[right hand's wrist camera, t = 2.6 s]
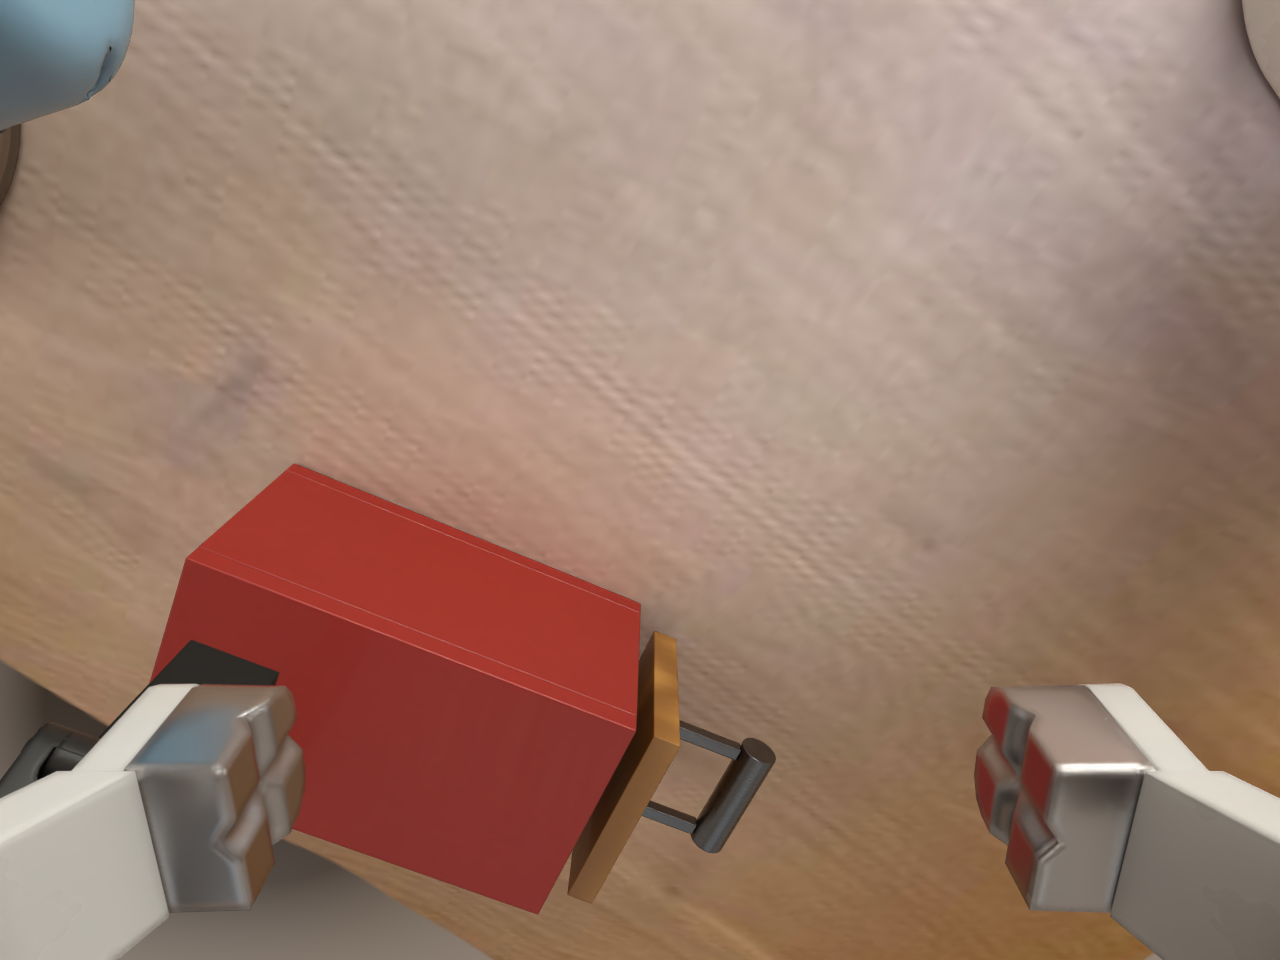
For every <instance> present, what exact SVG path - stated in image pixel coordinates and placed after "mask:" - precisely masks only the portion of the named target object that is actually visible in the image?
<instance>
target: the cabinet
mask: <svg viewBox="0 0 1280 960" xmlns="http://www.w3.org/2000/svg"><path fill="white" fill-rule="evenodd" d="M640 609H641V604H640V603H637V602H635V601H633V600H630V599H628V598H625V597H623V596H620V595H618V594H615V593H613V592H610V591H608V590H605V589H603V588H600V587H598V586H595V585H593V584H591V583H588V582H586V581H583V580H581V579H578V578H576V577H573V576H571V575H568V574H566V573H563V572H561V571H558V570H556V569H554V568H551V567H549V566H546V565H544V564H541V563H539V562H536V561H534V560H531V559H529V558H526V557H524V556H521V555H519V554H516V553H514V552H512V551H509V550H507V549H504V548H502V547H499V546H497V545H494V544H492V543H489V542H487V541H484V540H482V539H479V538H477V537H475V536H472V535H470V534H467V533H465V532H462V531H460V530H457V529H455V528H452V527H450V526H447V525H445V524H442V523H440V522H438V521H435V520H433V519H430V518H428V517H425V516H423V515H420V514H418V513H415V512H413V511H410V510H408V509H405V508H403V507H400V506H398V505H396V504H393V503H391V502H388V501H386V500H383V499H381V498H378V497H376V496H373V495H371V494H368V493H366V492H363V491H361V490H359V489H356V488H354V487H351V486H349V485H346V484H344V483H341V482H339V481H336V480H334V479H331V478H329V477H326V476H324V475H321V474H319V473H317V472H314V471H312V470H309V469H307V468H304V467H302V466H299V465H297V464H293V465H292V466H290V467H289V468H288V469H287V470H286V471H285V472H283V473H282V474H281V475H280V476H279V477H278V478H277V479H275V480H274V481H273V482H272V483H271V484H270V485H269V486H267V487H266V488H265V489H264V490H263V491H262V492H261V493H260V494H258V495H257V496H256V497H255V498H254V499H253V500H252V501H250V502H249V503H248V504H247V505H246V506H245V507H244V508H242V509H241V510H240V511H239V512H238V513H237V514H236V515H234V516H233V517H232V518H231V519H230V520H229V521H228V522H226V523H225V524H224V525H223V526H222V527H221V528H220V529H218V530H217V531H216V532H215V533H214V534H213V535H212V536H210V537H209V538H208V539H207V540H206V541H205V542H204V543H203V544H201V545H200V546H199V548H197V549H196V550H195V551H194V552H193V553H191V554H190V555H189V556H188V557H187V558H186V560H185V563H184V567H183V570H182V574H181V577H180V581H179V584H178V587H177V591H176V594H175V598H174V601H173V605H172V608H171V611H170V615H169V618H168V622H167V625H166V629H165V632H164V635H163V639H162V642H161V646H160V649H159V653H158V656H157V659H156V663H155V666H154V670H153V673H152V677H151V680H150V682H151V681H152V680H153V679H154V678H155V677H156V676H157V675H158V674H159V673H160V672H161V671H162V670H163V669H164V668H165V667H166V665H167V664H168V663H169V662H170V661H171V660H172V659H173V658H174V657H175V656H176V655H177V654H178V653H179V652H180V651H181V650H182V649H183V648H184V646H185V645H186V644H187V643H188V642H189V641H190V640H194V641H197V642H199V643H202V644H205V645H207V646H210V647H213V648H216V649H218V650H221V651H224V652H226V653H229V654H232V655H234V656H237V657H240V658H242V659H245V660H248V661H250V662H253V663H256V664H259V665H261V666H264V667H267V668H269V669H272V670H275V671H277V672H280V673H279V676H278V679H277V682H276V685H275V686H286V687H287V688H288V689H289V690H290V691H291V692H292V693H293V696H294V701H295V706H296V711H297V716H298V718H297V720H296V721H295V723H294V725H293V727H292V728H291V730H290V732H289V733H288V735H289V736H290V737H291V738H292V739H293V740H294V741H295V742H296V743H297V744H298V745H299V746H300V747H301V748H302V750H303V754H304V761H305V791H304V796H303V800H302V805H301V809H300V814H299V816H298V818H297V820H296V822H295V824H294V826H293V828H292V829H295V830H298V831H300V832H303V833H306V834H309V835H312V836H315V837H318V838H320V839H323V840H326V841H329V842H332V843H335V844H338V845H340V846H343V847H346V848H349V849H352V850H355V851H358V852H360V853H363V854H366V855H369V856H372V857H375V858H378V859H380V860H383V861H386V862H389V863H392V864H395V865H398V866H400V867H403V868H406V869H409V870H412V871H415V872H418V873H420V874H423V875H426V876H429V877H432V878H435V879H438V880H440V881H443V882H446V883H449V884H452V885H455V886H458V887H460V888H463V889H466V890H469V891H472V892H475V893H478V894H480V895H483V896H486V897H489V898H492V899H495V900H498V901H500V902H503V903H506V904H509V905H512V906H515V907H518V908H520V909H523V910H526V911H529V912H532V913H535V914H538V913H539V912H540V910H541V908H542V906H543V904H544V902H545V900H546V899H547V897H548V895H549V893H550V891H551V889H552V887H553V886H554V884H555V882H556V880H557V878H558V876H559V874H560V872H561V871H562V869H563V867H564V865H565V863H566V861H567V859H568V858H569V856H570V854H571V852H572V850H573V848H574V846H575V844H576V843H577V841H578V839H579V837H580V835H581V833H582V831H583V830H584V828H585V826H586V824H587V822H588V820H589V818H590V817H591V815H592V813H593V811H594V809H595V807H596V805H597V803H598V802H599V800H600V798H601V796H602V794H603V792H604V790H605V789H606V787H607V785H608V783H609V781H610V779H611V777H612V776H613V774H614V772H615V770H616V768H617V766H618V764H619V762H620V761H621V759H622V757H623V755H624V753H625V751H626V749H627V748H628V746H629V744H630V742H631V740H632V738H633V736H634V734H635V733H636V720H637V718H636V717H637V696H638V668H639V640H640Z"/></svg>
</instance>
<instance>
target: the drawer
mask: <svg viewBox="0 0 1280 960" xmlns="http://www.w3.org/2000/svg"><path fill="white" fill-rule="evenodd" d="M636 718H637V720H636V733H635V734H634V736H633V738H632V740H631V742H630V744H629V746H628V748H627V749H626V751H625V753H624V755H623V757H622V759H621V761H620V762H619V764H618V766H617V768H616V770H615V772H614V774H613V776H612V777H611V779H610V781H609V783H608V785H607V787H606V789H605V790H604V792H603V794H602V796H601V798H600V800H599V802H598V803H597V805H596V807H595V809H594V811H593V813H592V815H591V817H590V818H589V820H588V822H587V824H586V826H585V828H584V830H583V831H582V833H581V835H580V837H579V839H578V841H577V843H576V844H575V846H574V848H573V852H572V860H571V869H570V877H569V885H568V895H569V896H572V897H575V898H578V899H580V900H583V901H586V902H589V903H593V901H594V899H595V897H596V895H597V894H598V892H599V890H600V888H601V887H602V885H603V883H604V881H605V879H606V878H607V876H608V874H609V872H610V871H611V869H612V867H613V865H614V863H615V862H616V860H617V858H618V856H619V855H620V853H621V851H622V849H623V847H624V846H625V844H626V842H627V840H628V839H629V837H630V835H631V833H632V831H633V830H634V828H635V826H636V824H637V823H638V821H639V819H640V817H641V816H644V817H647V818H649V819H652V820H655V821H657V822H660V823H663V824H665V825H668V826H671V827H674V828H676V829H679V830H682V831H684V832H687V833H690V834H691V837H692V840H693V841H694V843H695V844H696V845H697V846H698V847H699V848H701V849H702V850H704V851H706V852H709V853H717V852H719V851H721V849H722V848H723V846H724V844H725V843H726V841H727V839H728V838H729V836H730V835H731V833H732V831H733V830H734V828H735V826H736V825H737V823H738V821H739V820H740V818H741V817H742V815H743V813H744V812H745V810H746V808H747V807H748V805H749V804H750V802H751V800H752V799H753V797H754V795H755V794H756V792H757V790H758V789H759V787H760V786H761V784H762V782H763V781H764V779H765V777H766V776H767V774H768V773H769V771H770V769H771V768H772V766H773V764H774V763H775V760H776V758H775V754H774V752H773V751H772V750H771V748H770V747H768V746H767V745H766V744H765V743H763V742H762V741H760V740H757V739H754V738H747V739H745V740H744V741H743V742H742V744H741V746H740V744H739V743H737V742H734V741H732V740H729V739H727V738H724V737H721V736H719V735H716V734H714V733H711V732H709V731H706V730H703V729H701V728H698V727H696V726H693V725H691V724H688V723H685V722H683V721H680V720H679V700H678V674H677V649H676V639H674V638H671V637H669V636H666V635H664V634H661V633H659V632H656V631H654V633H653V635H652V637H651V639H650V641H649V642H648V644H647V646H646V648H645V650H644V652H643V654H642V656H641V658H640V660H639V668H638V696H637V717H636ZM680 739H682V740H684V741H687V742H690V743H692V744H695V745H697V746H700V747H703V748H705V749H708V750H710V751H713V752H716V753H718V754H721V755H723V756H726V757H728V758H731V759H732V761H731V763H730V764H729V766H728V768H727V769H726V771H725V773H724V774H723V776H722V778H721V779H720V781H719V783H718V784H717V786H716V788H715V790H714V791H713V793H712V795H711V796H710V798H709V800H708V801H707V803H706V805H705V806H704V808H703V810H702V812H701V813H700V815H699V817H698V818H697V820H696V818H695V817H693V816H690V815H687V814H685V813H682V812H679V811H677V810H674V809H671V808H669V807H666V806H663V805H661V804H658V803H655V802H653V801H650V799H651V798H652V796H653V794H654V792H655V790H656V789H657V787H658V785H659V783H660V782H661V780H662V778H663V776H664V774H665V773H666V771H667V769H668V767H669V766H670V764H671V762H672V760H673V758H674V757H675V755H676V753H677V751H678V750H679V748H680Z"/></svg>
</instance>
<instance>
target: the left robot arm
mask: <svg viewBox="0 0 1280 960" xmlns="http://www.w3.org/2000/svg"><path fill="white" fill-rule="evenodd" d="M133 20H134V0H0V204H1V202H2V200H3V198H4V196H5V194H6V193H7V190H8V187H9V185H10V182H11V180H12V177H13V174H14V170H15V166H16V162H17V157H18V151H19V144H20V129H21V123H23V122H26V121H29V120H32V119H35V118H39V117H42V116H45V115H48V114H51V113H54V112H57V111H60V110H63V109H66V108H69V107H72V106H75V105H78V104H80V103H82V102H84V101H86V100H88V99H90V98H91V97H92V96H93V95H94V94H96V93H97V92H99V91H101V90H102V89H103V88H104V87H105V86H106V85H107V84H108V83H109V82H110V81H111V80H112V78H113V77H114V76H115V74H116V73H117V71H118V69H119V68H120V66H121V64H122V62H123V60H124V57H125V55H126V52H127V49H128V45H129V41H130V38H131V33H132V27H133ZM279 673H280V672H277V671H275V670H272V669H269V668H267V667H264V666H261V665H259V664H256V663H253V662H250V661H248V660H245V659H242V658H240V657H237V656H234V655H232V654H229V653H226V652H224V651H221V650H218V649H216V648H213V647H210V646H207V645H205V644H202V643H199V642H197V641H194V640H190V641H189V642H188V643H187V644H186V645H185V646H184V648H183V649H182V650H181V651H180V652H179V653H178V654H177V655H176V656H175V657H174V658H173V659H172V660H171V661H170V662H169V663H168V664H167V665H166V667H165V668H164V669H163V670H162V671H161V672H160V673H159V674H158V675H157V676H156V677H155V678H154V679H153V680H152V681H151V682H150V683H149V685H148V686H147V687H146V688H145V689H144V690H143V691H142V692H141V693H140V694H139V695H138V696H137V697H136V698H135V699H134V700H133V701H132V702H131V704H130V705H129V706H128V707H127V708H126V709H125V710H124V711H123V712H122V713H121V714H120V715H119V716H118V717H117V718H116V719H115V720H114V722H113V723H112V724H111V725H110V726H109V727H108V728H107V729H106V730H105V731H104V732H103V733H102V734H101V735H100V736H99V737H98V738H96V737H94V736H91V735H88V734H85V733H82V732H79V731H77V730H74V729H71V728H68V727H65V726H62V725H59V724H57V723H54V722H50V723H47V724H45V725H44V726H43V727H41V728H40V729H39V730H38V732H37V733H36V734H35V735H34V736H33V737H32V738H31V739H30V740H29V741H28V742H27V743H26V744H25V746H24V747H23V749H22V751H21V753H20V755H19V756H18V758H17V759H16V760H15V762H14V763H13V764H12V765H11V767H10V768H9V769H8V771H7V772H6V773H5V775H4V776H3V777H2V779H1V780H0V798H2V797H4V796H6V795H8V794H10V793H12V792H15V791H17V790H19V789H21V788H23V787H25V786H27V785H29V784H31V783H33V782H35V781H37V780H39V779H41V778H44V777H46V776H48V775H50V774H52V773H54V772H56V771H72V770H73V768H74V767H75V766H76V765H77V764H78V763H79V762H80V761H81V760H82V759H83V758H84V757H85V755H86V754H87V753H88V752H89V751H90V750H91V749H92V748H93V747H94V746H95V745H96V744H97V742H98V741H99V740H100V739H101V738H102V737H103V736H104V735H105V734H106V733H107V732H108V731H109V730H110V728H111V727H112V726H113V725H114V724H115V723H116V722H117V721H118V720H119V719H120V718H121V717H122V715H123V714H124V713H125V712H126V711H127V710H128V709H129V708H130V707H131V706H132V705H133V704H134V702H135V701H136V700H137V699H138V698H139V697H140V696H141V695H142V694H143V693H144V692H145V691H146V690H147V689H148V687H151V686H155V685H159V684H198V685H202V684H221V685H269V686H275V685H276V682H277V679H278V676H279Z"/></svg>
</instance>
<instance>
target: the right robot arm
mask: <svg viewBox="0 0 1280 960" xmlns="http://www.w3.org/2000/svg"><path fill="white" fill-rule="evenodd" d="M1242 6H1243V15H1244V21H1245V27H1246V31H1247V35H1248V38H1249V42H1250V45H1251V48H1252V51H1253V54H1254V56H1255V58H1256V61H1257V63H1258V65H1259V67H1260V69H1261V71H1262V73H1263V74H1264V76H1265V78H1266V79H1267V81H1268V82H1269V84H1270V85H1271V87H1272V88H1273V90H1274V91H1275V93H1276V94H1277V96H1278V97H1279V99H1280V0H1242ZM297 718H298V716H297V711H296V706H295V701H294V696H293V693H292V692H291V691H290V690H289V689H288V688H287V687H286V686H269V685H221V684H202V685H198V684H159V685H155V686H151V687H148V689H147V690H146V691H145V692H144V693H143V694H142V695H141V696H140V697H139V698H138V699H137V700H136V701H135V702H134V704H133V705H132V706H131V707H130V708H129V709H128V710H127V711H126V712H125V713H124V714H123V715H122V717H121V718H120V719H119V720H118V721H117V722H116V723H115V724H114V725H113V726H112V727H111V728H110V730H109V731H108V732H107V733H106V734H105V735H104V736H103V737H102V738H101V739H100V740H99V741H98V742H97V744H96V745H95V746H94V747H93V748H92V749H91V750H90V751H89V752H88V753H87V754H86V755H85V757H84V758H83V759H82V760H81V761H80V762H79V763H78V764H77V765H76V766H75V767H74V768H73V770H72V771H56V772H54V773H52V774H50V775H48V776H46V777H44V778H41V779H39V780H37V781H35V782H33V783H31V784H29V785H27V786H25V787H23V788H21V789H19V790H17V791H15V792H12V793H10V794H8V795H6V796H4V797H2V798H0V960H118V959H119V958H120V957H122V956H123V955H124V954H125V953H126V952H128V951H129V950H130V949H131V948H132V947H134V946H135V945H136V944H137V943H139V942H140V941H141V940H142V939H143V938H145V937H146V936H147V935H148V934H150V933H151V932H152V931H153V930H154V929H156V928H157V927H158V926H159V925H160V924H162V923H163V922H164V921H165V920H167V919H168V918H169V916H170V915H169V913H174V912H208V911H243V910H251V908H252V906H253V904H254V902H255V900H256V898H257V896H258V894H259V892H260V891H261V889H262V887H263V885H264V883H265V881H266V879H267V877H268V875H269V873H270V871H271V869H272V868H273V866H274V864H275V861H274V855H273V849H272V845H274V844H275V843H276V842H278V841H279V840H281V839H282V838H284V837H285V836H287V835H288V834H289V833H290V832H291V830H292V828H293V826H294V824H295V822H296V820H297V818H298V816H299V814H300V809H301V805H302V800H303V796H304V791H305V761H304V754H303V750H302V748H301V747H300V746H299V745H298V744H297V743H296V742H295V741H294V740H293V739H292V738H291V737H290V736H289V735H288V733H289V732H290V730H291V728H292V727H293V725H294V723H295V721H296V720H297ZM982 718H983V720H984V721H985V723H986V725H987V727H988V728H989V730H990V732H991V733H992V735H991V736H990V737H989V738H988V739H987V740H986V741H985V742H984V743H983V744H982V745H981V746H980V747H979V748H978V750H977V755H976V763H975V771H974V778H975V789H976V799H977V802H978V806H979V809H980V812H981V816H982V818H983V820H984V822H985V824H986V826H987V828H988V830H989V832H990V833H991V834H992V835H993V836H995V837H996V838H998V839H999V840H1001V841H1002V842H1004V843H1005V844H1006V845H1008V849H1007V855H1006V861H1005V864H1006V866H1007V867H1008V869H1009V871H1010V873H1011V875H1012V877H1013V879H1014V881H1015V883H1016V885H1017V887H1018V889H1019V890H1020V892H1021V894H1022V896H1023V898H1024V900H1025V902H1026V904H1027V906H1028V908H1029V910H1034V911H1070V912H1106V913H1111V914H1110V917H1111V918H1113V919H1114V920H1115V921H1116V922H1118V923H1119V924H1120V925H1121V926H1122V927H1124V928H1125V929H1126V930H1127V931H1128V932H1130V933H1131V934H1132V935H1133V936H1135V937H1136V938H1137V939H1138V940H1139V941H1141V942H1142V943H1143V944H1144V945H1145V946H1147V947H1148V948H1149V949H1150V950H1152V951H1153V952H1154V953H1155V954H1156V955H1158V956H1159V957H1160V958H1161V959H1162V960H1280V798H1278V797H1276V796H1274V795H1272V794H1270V793H1267V792H1265V791H1263V790H1261V789H1259V788H1257V787H1255V786H1253V785H1251V784H1249V783H1247V782H1245V781H1243V780H1241V779H1238V778H1236V777H1234V776H1232V775H1230V774H1228V773H1226V772H1224V771H1208V770H1207V768H1206V767H1205V766H1204V765H1203V764H1202V763H1201V762H1200V761H1199V760H1198V759H1197V758H1196V757H1195V755H1194V754H1193V753H1192V752H1191V751H1190V750H1189V749H1188V748H1187V747H1186V746H1185V745H1184V744H1183V742H1182V741H1181V740H1180V739H1179V738H1178V737H1177V736H1176V735H1175V734H1174V733H1173V732H1172V731H1171V729H1170V728H1169V727H1168V726H1167V725H1166V724H1165V723H1164V722H1163V721H1162V720H1161V719H1160V718H1159V716H1158V715H1157V714H1156V713H1155V712H1154V711H1153V710H1152V709H1151V708H1150V707H1149V706H1148V705H1147V703H1146V702H1145V701H1144V700H1143V699H1142V698H1141V697H1140V696H1139V695H1138V694H1137V693H1136V692H1135V690H1134V689H1133V688H1131V687H1129V686H1126V685H1124V684H1122V683H1115V684H1087V685H1072V686H1024V687H991V689H990V691H989V693H988V695H987V697H986V699H985V705H984V711H983V716H982Z"/></svg>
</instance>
